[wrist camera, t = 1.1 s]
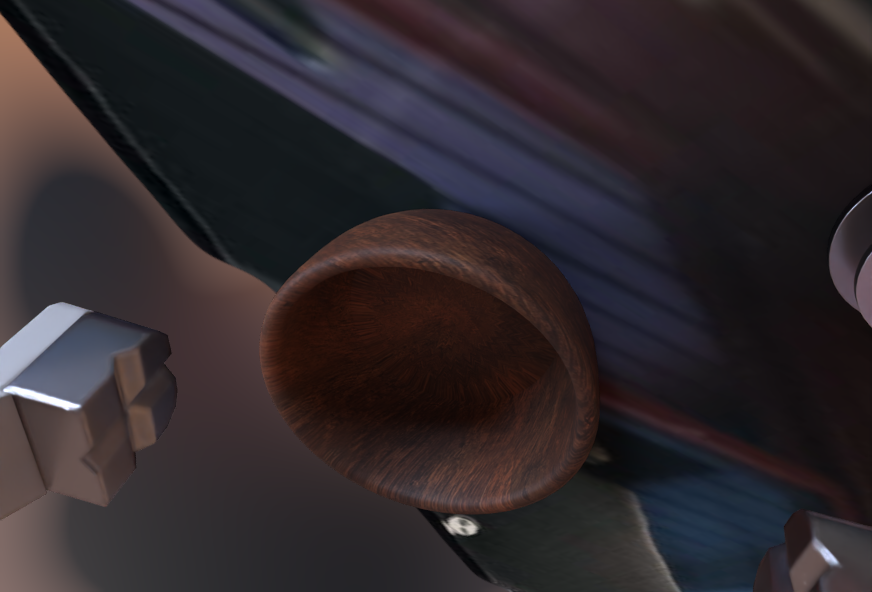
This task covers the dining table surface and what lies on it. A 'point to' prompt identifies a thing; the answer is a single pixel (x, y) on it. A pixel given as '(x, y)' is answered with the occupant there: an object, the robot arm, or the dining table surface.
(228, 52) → the dining table surface
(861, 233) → the stand
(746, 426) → the dining table surface
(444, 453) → the wooden bowl
